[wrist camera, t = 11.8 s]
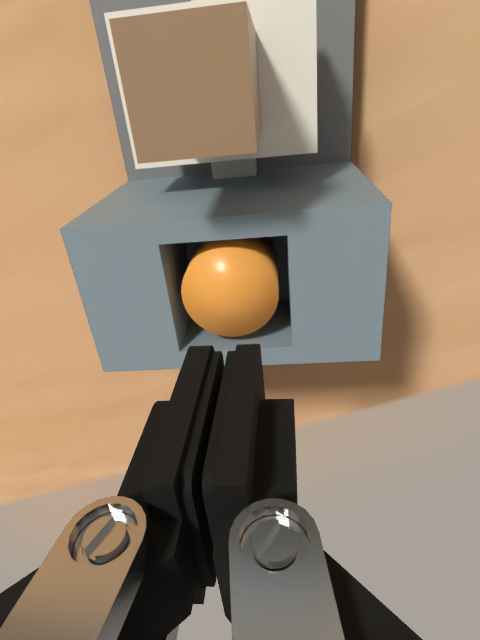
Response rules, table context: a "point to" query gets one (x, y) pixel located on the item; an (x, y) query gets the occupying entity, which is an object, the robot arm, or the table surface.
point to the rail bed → (240, 233)
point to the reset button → (232, 285)
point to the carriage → (217, 79)
